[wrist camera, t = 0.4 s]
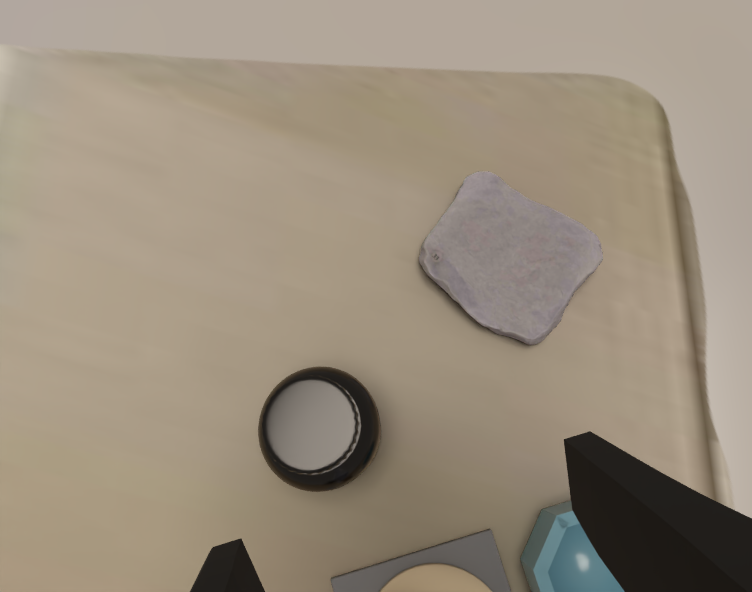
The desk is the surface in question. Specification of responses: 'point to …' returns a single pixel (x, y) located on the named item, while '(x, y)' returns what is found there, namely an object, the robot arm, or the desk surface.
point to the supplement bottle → (319, 429)
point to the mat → (466, 553)
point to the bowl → (564, 556)
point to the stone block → (509, 258)
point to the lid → (435, 580)
